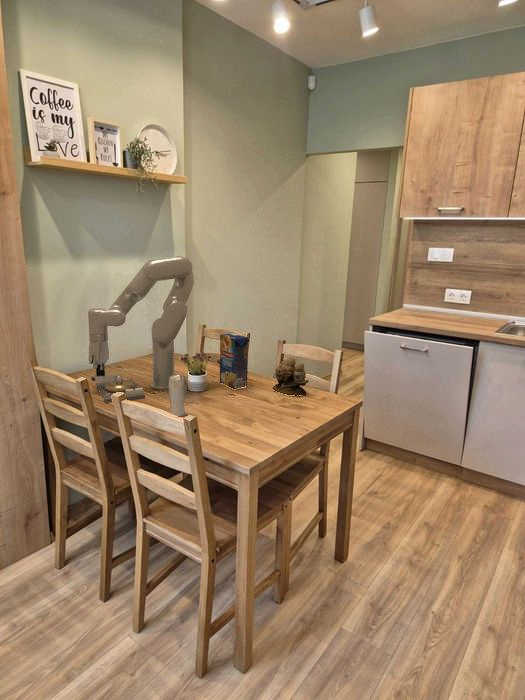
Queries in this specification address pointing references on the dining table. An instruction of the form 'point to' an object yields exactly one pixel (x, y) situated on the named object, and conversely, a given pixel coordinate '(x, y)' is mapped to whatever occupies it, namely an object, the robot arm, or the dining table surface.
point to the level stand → (130, 393)
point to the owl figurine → (290, 377)
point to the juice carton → (233, 360)
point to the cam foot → (114, 382)
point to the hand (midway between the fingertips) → (100, 378)
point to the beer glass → (177, 394)
